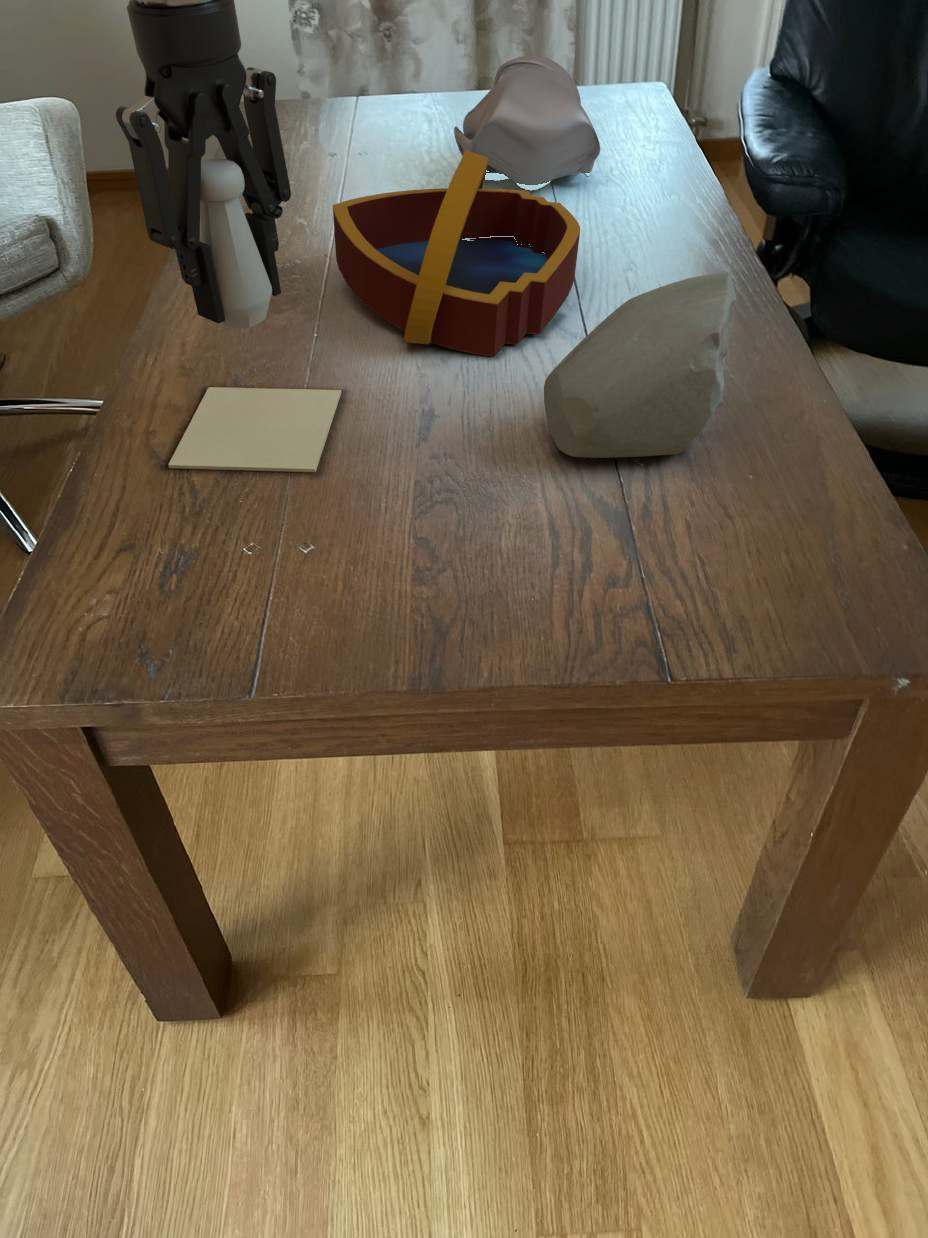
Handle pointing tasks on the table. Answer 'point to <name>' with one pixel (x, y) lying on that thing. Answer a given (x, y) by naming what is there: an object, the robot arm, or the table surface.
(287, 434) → the placemat
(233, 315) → the salt shaker
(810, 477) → the table surface
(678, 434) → the decorative stone
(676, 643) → the table surface
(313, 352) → the table surface
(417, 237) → the decorative basket
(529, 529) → the table surface
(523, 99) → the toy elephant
